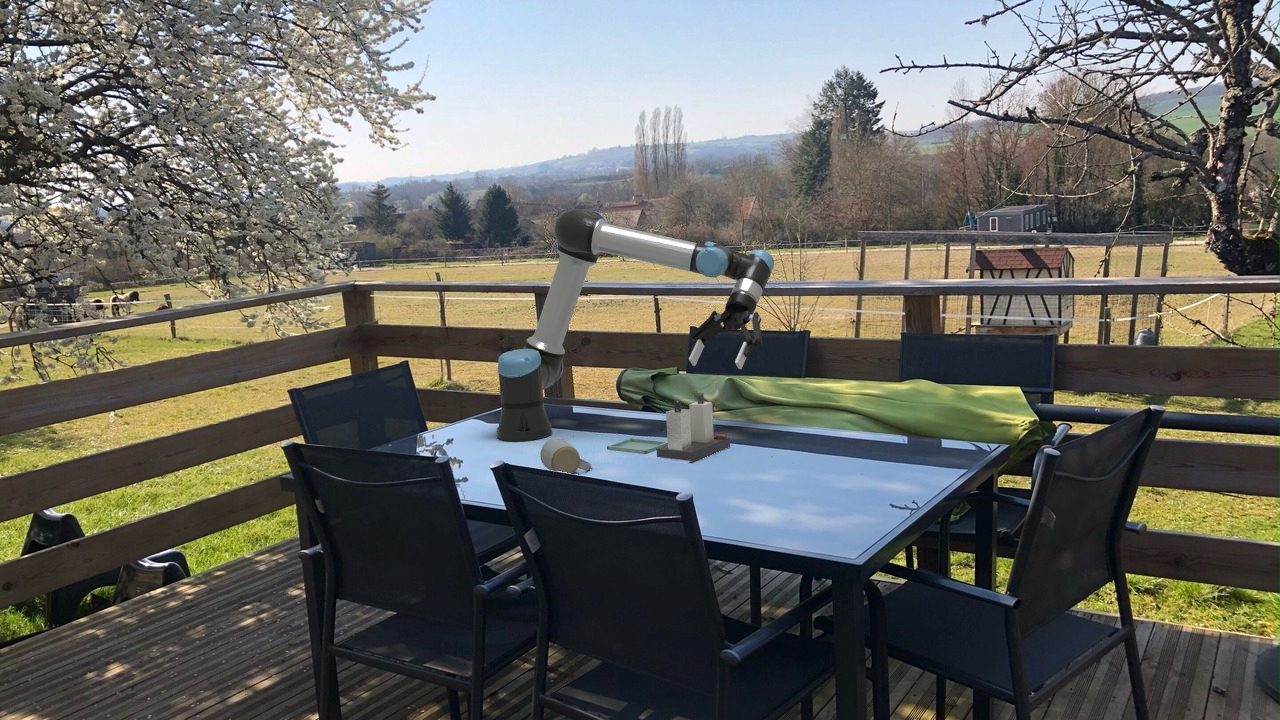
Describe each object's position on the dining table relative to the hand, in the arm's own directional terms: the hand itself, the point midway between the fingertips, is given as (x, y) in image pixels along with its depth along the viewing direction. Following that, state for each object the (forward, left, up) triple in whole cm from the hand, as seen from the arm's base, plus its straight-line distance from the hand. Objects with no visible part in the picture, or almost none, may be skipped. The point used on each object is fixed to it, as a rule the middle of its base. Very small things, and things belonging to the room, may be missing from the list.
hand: (714, 364), depth 225 cm
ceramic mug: (-16, -40, -20) cm, 48 cm away
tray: (-14, -16, -20) cm, 29 cm away
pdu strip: (+1, -13, -20) cm, 24 cm away
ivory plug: (+1, -9, -19) cm, 21 cm away
